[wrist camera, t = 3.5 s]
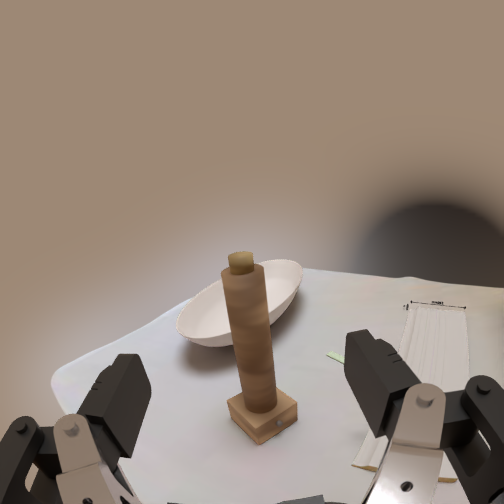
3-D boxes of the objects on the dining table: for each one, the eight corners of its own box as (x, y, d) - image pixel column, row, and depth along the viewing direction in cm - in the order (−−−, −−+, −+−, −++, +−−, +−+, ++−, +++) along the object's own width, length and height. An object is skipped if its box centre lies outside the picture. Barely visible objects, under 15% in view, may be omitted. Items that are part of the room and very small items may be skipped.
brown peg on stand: (267, 397, 29) (248, 242, 24) (300, 421, 24) (292, 252, 19) (231, 417, 26) (195, 258, 21) (261, 447, 22) (232, 274, 17)
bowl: (256, 283, 63) (253, 257, 61) (321, 289, 55) (320, 261, 53) (159, 357, 38) (148, 323, 36) (244, 390, 31) (237, 351, 29)
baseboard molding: (336, 464, 19) (451, 485, 12) (339, 450, 18) (465, 471, 11) (401, 312, 42) (463, 319, 35) (402, 297, 42) (466, 304, 35)
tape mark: (331, 351, 35) (331, 350, 35) (366, 368, 30) (366, 367, 30) (326, 355, 35) (326, 354, 35) (361, 372, 30) (362, 371, 30)
